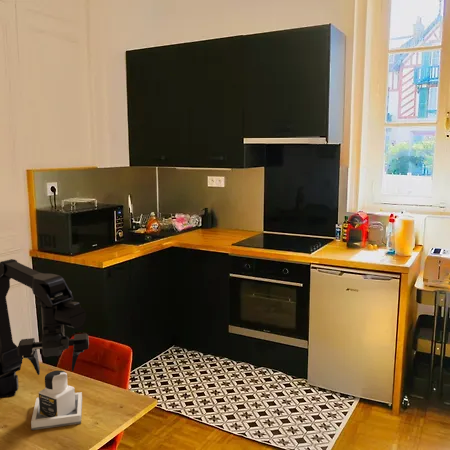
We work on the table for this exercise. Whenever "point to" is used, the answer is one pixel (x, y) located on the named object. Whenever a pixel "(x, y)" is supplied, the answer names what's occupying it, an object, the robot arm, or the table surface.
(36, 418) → the walled box
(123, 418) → the table surface
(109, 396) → the table surface
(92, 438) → the table surface
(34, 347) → the robot arm
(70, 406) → the medicine bottle
